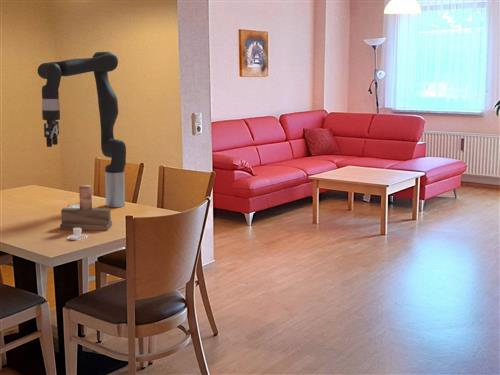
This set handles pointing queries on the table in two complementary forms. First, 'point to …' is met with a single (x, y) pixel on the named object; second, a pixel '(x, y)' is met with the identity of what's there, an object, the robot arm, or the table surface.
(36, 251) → the table surface
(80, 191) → the pink domed cylinder
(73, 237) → the teacup and saucer
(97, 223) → the ridge
